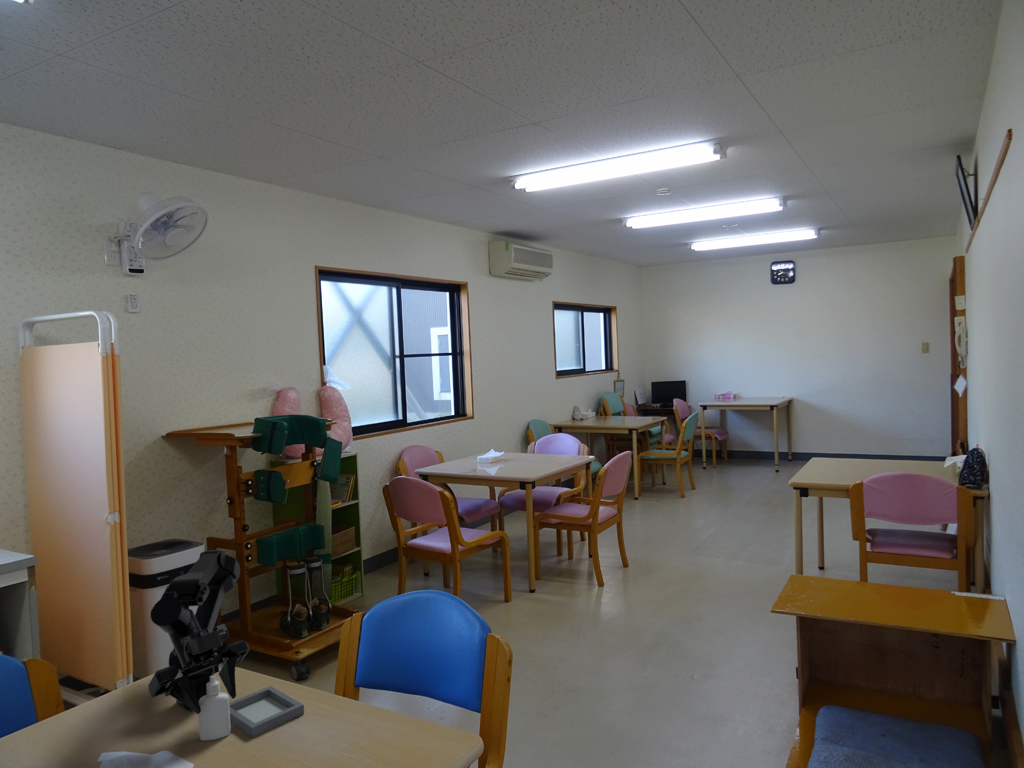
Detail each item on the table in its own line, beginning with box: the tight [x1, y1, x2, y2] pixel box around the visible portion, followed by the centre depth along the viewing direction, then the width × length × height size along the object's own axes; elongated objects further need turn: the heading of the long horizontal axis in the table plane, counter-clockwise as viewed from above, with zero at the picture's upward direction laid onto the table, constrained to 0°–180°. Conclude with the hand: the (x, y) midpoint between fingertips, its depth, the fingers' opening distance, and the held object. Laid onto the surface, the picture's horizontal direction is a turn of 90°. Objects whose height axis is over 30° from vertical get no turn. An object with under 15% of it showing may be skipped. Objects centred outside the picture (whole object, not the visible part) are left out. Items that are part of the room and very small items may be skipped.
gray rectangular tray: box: [229, 685, 305, 739], centre depth 144 cm, size 13×11×2 cm
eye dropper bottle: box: [198, 674, 232, 742], centre depth 136 cm, size 4×6×12 cm
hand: (217, 705), depth 135 cm, fingers open, 7 cm apart
